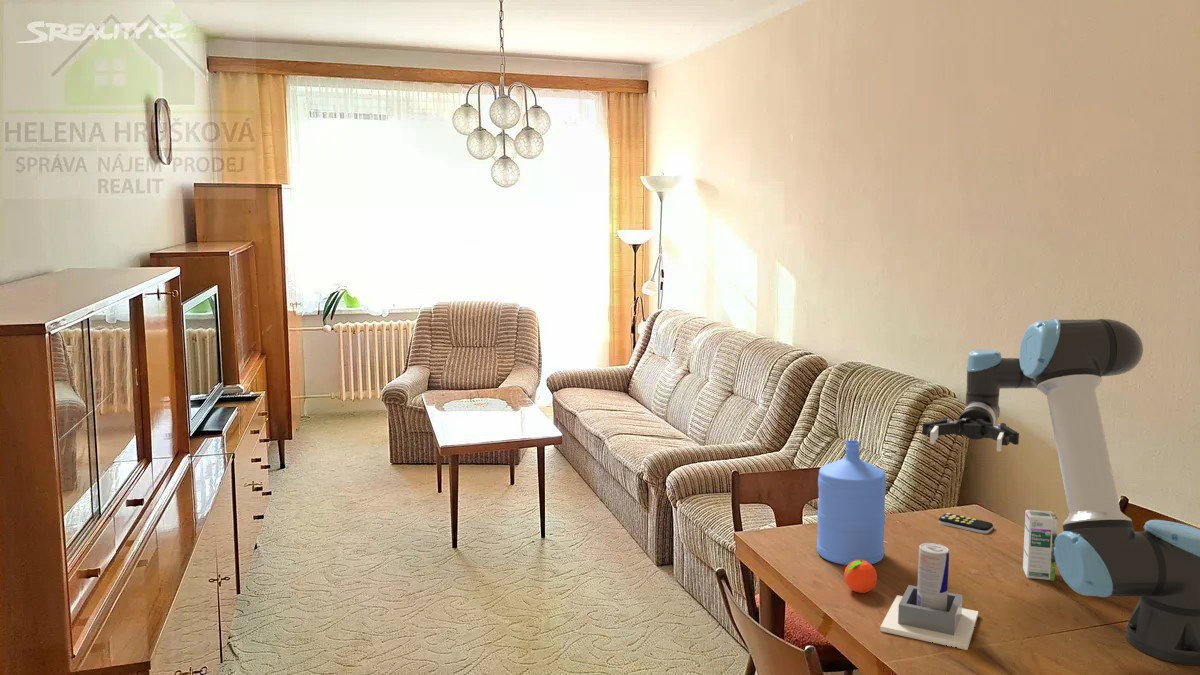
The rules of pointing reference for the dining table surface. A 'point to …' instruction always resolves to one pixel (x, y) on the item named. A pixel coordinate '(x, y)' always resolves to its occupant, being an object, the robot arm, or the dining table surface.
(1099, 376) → the robot arm
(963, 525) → the remote control
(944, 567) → the beverage can
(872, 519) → the water jug
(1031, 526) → the syrup box
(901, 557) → the dining table surface
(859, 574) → the clementine
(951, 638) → the can holder
